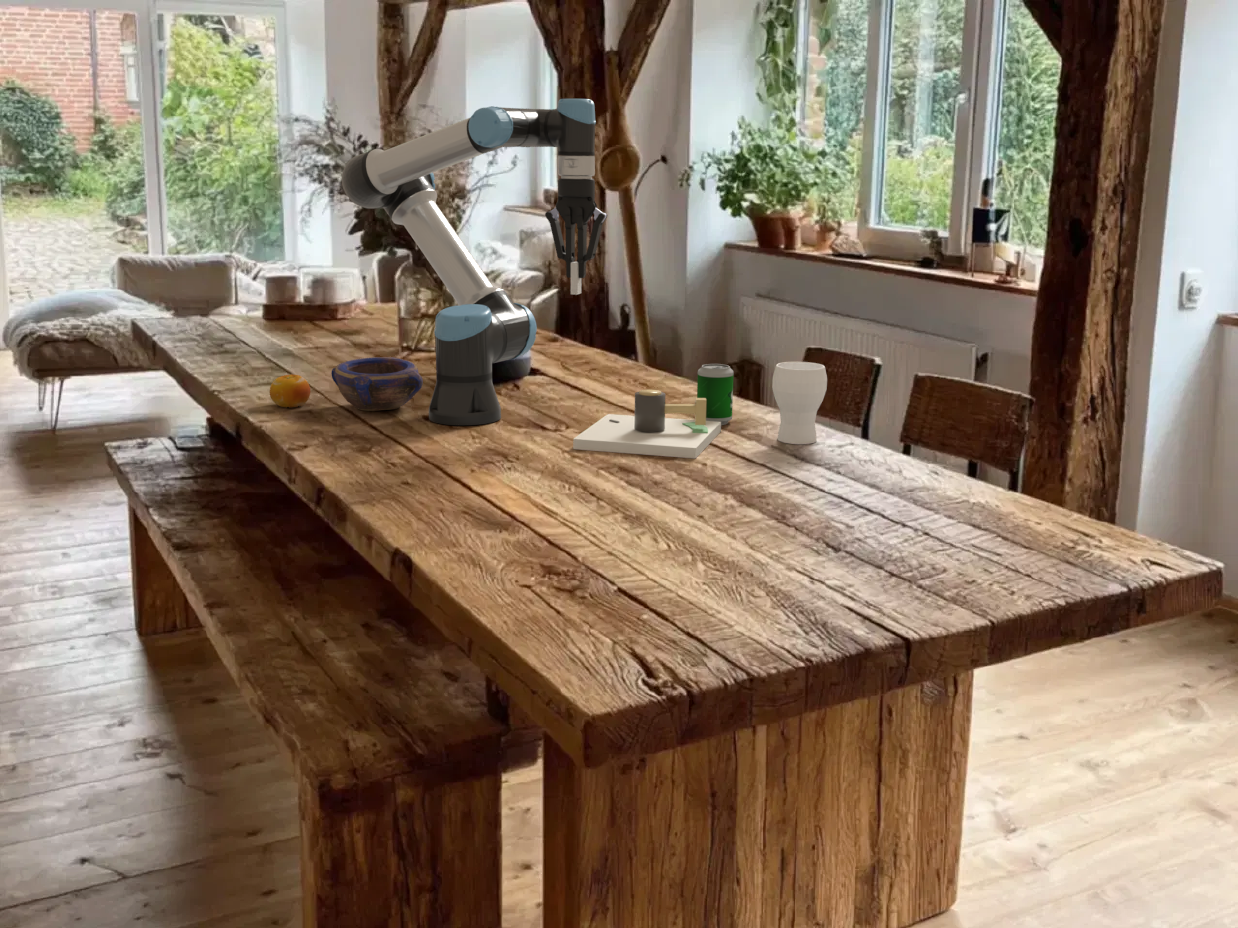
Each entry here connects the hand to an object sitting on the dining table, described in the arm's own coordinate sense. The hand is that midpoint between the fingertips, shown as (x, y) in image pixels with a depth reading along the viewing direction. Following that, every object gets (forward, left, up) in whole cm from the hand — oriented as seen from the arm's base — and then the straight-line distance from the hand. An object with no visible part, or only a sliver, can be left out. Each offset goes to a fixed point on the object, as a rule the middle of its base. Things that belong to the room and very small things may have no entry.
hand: (576, 293), depth 266 cm
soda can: (+29, +5, -27) cm, 40 cm away
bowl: (-44, -4, -27) cm, 52 cm away
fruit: (-63, -8, -27) cm, 69 cm away
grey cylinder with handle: (+24, -14, -24) cm, 37 cm away
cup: (+48, -6, -27) cm, 55 cm away
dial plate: (+20, -15, -26) cm, 36 cm away
